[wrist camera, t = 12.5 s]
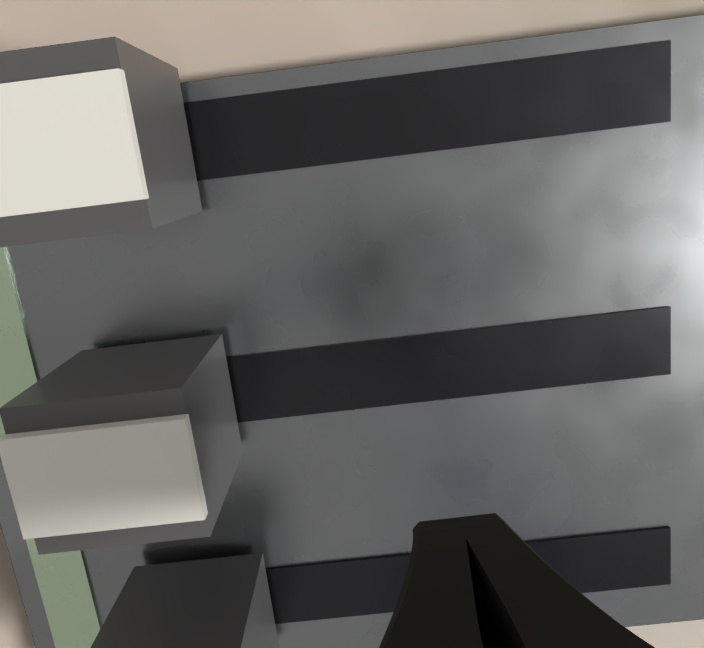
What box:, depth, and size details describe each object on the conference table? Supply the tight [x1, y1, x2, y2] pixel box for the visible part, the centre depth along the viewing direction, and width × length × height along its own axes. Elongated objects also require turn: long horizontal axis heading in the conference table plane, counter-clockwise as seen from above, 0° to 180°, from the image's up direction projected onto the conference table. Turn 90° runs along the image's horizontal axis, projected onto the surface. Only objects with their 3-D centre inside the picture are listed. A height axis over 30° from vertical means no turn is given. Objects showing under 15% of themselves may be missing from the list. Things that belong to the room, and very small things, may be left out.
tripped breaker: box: [0, 334, 243, 555], centre depth 16 cm, size 4×4×5 cm
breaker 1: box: [0, 37, 202, 247], centre depth 15 cm, size 4×4×5 cm
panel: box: [0, 15, 704, 648], centre depth 20 cm, size 18×24×2 cm
